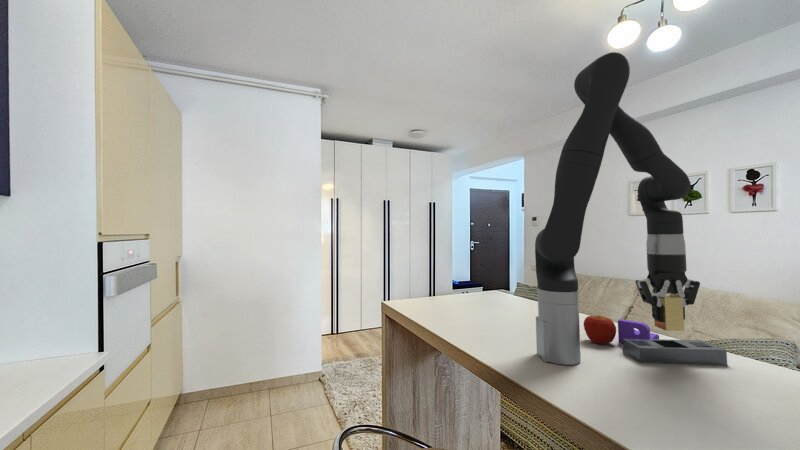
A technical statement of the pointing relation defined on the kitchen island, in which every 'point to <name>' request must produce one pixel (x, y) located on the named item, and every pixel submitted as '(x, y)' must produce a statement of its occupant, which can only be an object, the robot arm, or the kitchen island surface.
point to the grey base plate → (674, 351)
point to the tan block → (672, 314)
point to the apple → (600, 329)
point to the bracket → (628, 330)
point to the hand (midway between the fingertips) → (668, 321)
